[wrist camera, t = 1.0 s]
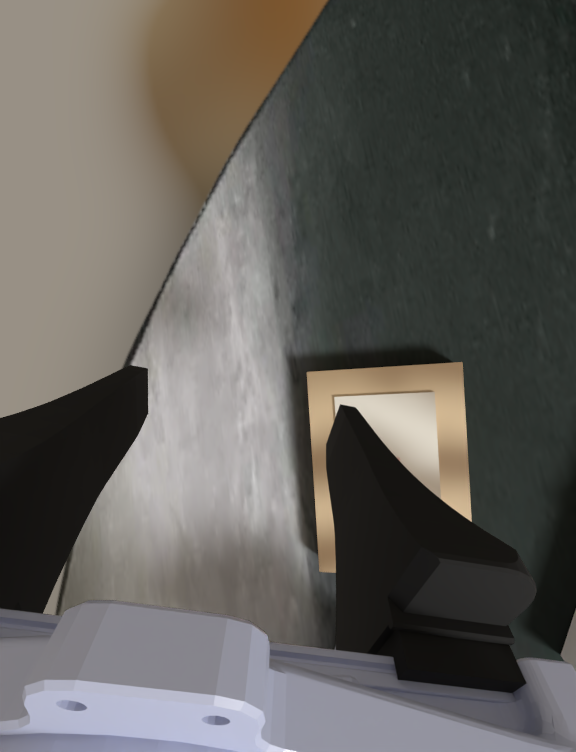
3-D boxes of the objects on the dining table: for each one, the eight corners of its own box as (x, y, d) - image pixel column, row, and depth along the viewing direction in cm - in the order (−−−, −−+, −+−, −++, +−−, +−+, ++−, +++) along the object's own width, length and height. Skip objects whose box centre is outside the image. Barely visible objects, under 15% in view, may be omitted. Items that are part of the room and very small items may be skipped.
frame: (463, 558, 24) (476, 582, 21) (322, 553, 26) (319, 573, 23) (451, 362, 24) (463, 362, 21) (311, 371, 26) (306, 372, 23)
